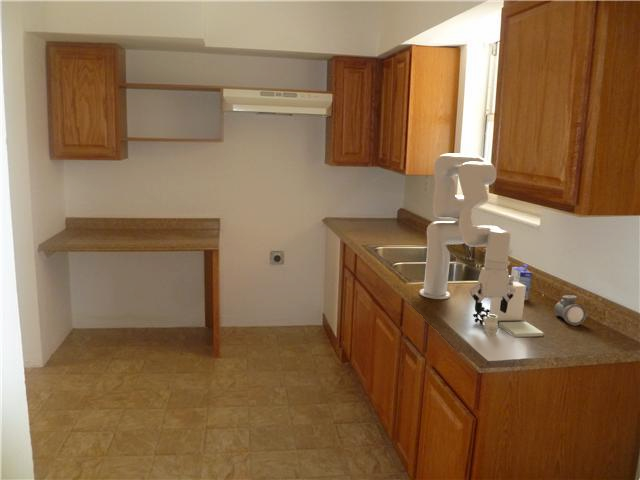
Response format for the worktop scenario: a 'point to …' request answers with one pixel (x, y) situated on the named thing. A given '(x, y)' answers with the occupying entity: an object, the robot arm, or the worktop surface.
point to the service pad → (520, 329)
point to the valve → (488, 321)
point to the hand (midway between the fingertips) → (490, 312)
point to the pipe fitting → (570, 310)
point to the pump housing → (510, 304)
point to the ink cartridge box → (522, 277)
